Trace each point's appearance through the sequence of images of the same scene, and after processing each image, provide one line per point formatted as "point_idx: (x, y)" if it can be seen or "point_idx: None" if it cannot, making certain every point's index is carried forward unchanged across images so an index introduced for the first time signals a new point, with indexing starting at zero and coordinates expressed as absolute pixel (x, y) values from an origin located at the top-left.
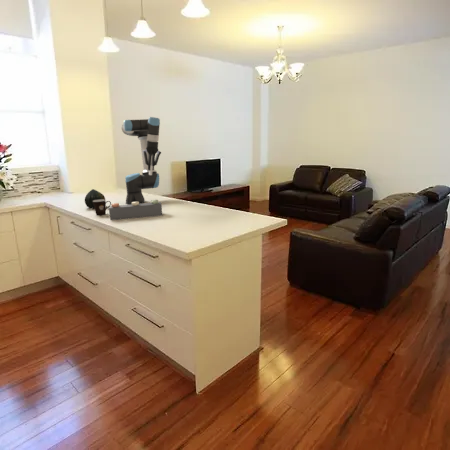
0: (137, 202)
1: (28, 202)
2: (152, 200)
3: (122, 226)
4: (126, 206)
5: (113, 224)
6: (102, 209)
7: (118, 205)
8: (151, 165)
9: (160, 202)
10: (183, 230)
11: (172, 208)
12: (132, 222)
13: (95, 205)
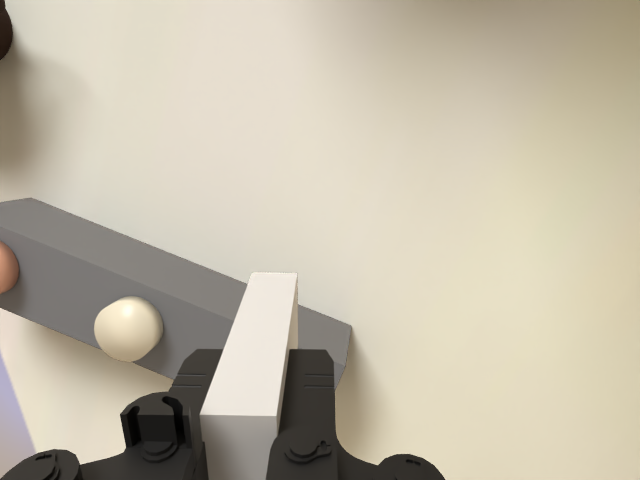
0: (135, 355)
1: None
2: None
3: (56, 444)
4: (65, 320)
5: (21, 371)
6: None
7: (4, 290)
8: (272, 438)
9: (334, 382)
10: None
11: (493, 239)
12: (119, 408)
13: None
